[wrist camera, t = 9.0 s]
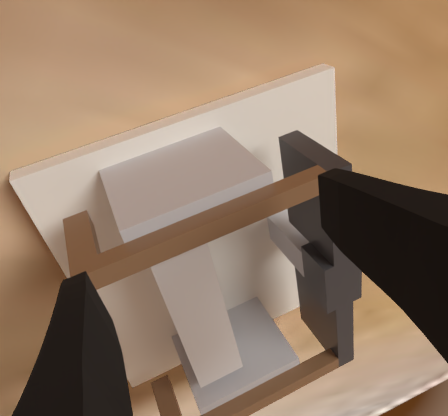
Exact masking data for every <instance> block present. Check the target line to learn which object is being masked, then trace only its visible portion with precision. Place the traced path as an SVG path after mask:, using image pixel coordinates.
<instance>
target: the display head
mask: <svg viewBox="0 0 448 416" xmlns="http://www.w3.org/2000/svg"><path fill="white" fill-rule="evenodd" d="M296 130H298V131H300V132H301V133H303V134H305V135H306V136H308V137H309V138H311V139H313V140H314V141H316V142H317V143H319V144H321V145H322V146H324V147H325V148H327V149H329V150H330V151H332V152H333V153H335V154H336V155H337V127H336V97H335V67H332V66H329V65H326V64H324V63H322V64H320V65H317V66H314V67H311V68H308V69H305V70H302V71H299V72H296V73H294V74H291V75H288V76H285V77H282V78H279V79H276V80H273V81H270V82H268V83H265V84H262V85H259V86H256V87H253V88H250V89H247V90H244V91H242V92H239V93H236V94H233V95H230V96H227V97H224V98H221V99H218V100H215V101H213V102H210V103H207V104H204V105H201V106H198V107H195V108H192V109H189V110H187V111H184V112H181V113H178V114H175V115H172V116H169V117H166V118H163V119H161V120H158V121H155V122H152V123H149V124H146V125H143V126H140V127H137V128H135V129H132V130H129V131H126V132H123V133H120V134H117V135H114V136H111V137H109V138H106V139H103V140H100V141H97V142H94V143H91V144H88V145H85V146H83V147H80V148H77V149H74V150H71V151H68V152H65V153H62V154H59V155H57V156H54V157H51V158H48V159H45V160H42V161H39V162H36V163H33V164H31V165H28V166H25V167H22V168H19V169H16V170H13V171H10V178H9V182H10V184H11V185H12V187H13V189H14V190H15V192H16V194H17V195H18V197H19V199H20V200H21V202H22V204H23V205H24V207H25V209H26V210H27V212H28V214H29V215H30V217H31V219H32V220H33V222H34V224H35V225H36V227H37V229H38V230H39V232H40V234H41V235H42V237H43V239H44V241H45V242H46V244H47V246H48V247H49V249H50V251H51V252H52V254H53V256H54V257H55V259H56V261H57V262H58V264H59V266H60V267H61V269H62V271H63V272H64V274H65V276H66V277H67V278H70V272H69V264H68V257H67V249H66V242H65V234H64V226H63V219H64V218H67V217H70V216H72V215H75V214H77V213H80V212H83V211H85V210H87V212H88V214H89V216H90V218H91V220H92V222H93V224H94V227H95V231H96V235H97V239H98V243H99V248H100V252H101V253H102V252H104V251H107V250H109V249H112V248H114V247H117V246H119V245H122V244H124V243H127V242H129V241H132V240H134V239H136V238H139V237H141V236H144V235H146V234H149V233H151V232H154V231H156V230H159V229H161V228H164V227H166V226H168V225H171V224H173V223H176V222H178V221H181V220H183V219H186V218H188V217H191V216H193V215H196V214H198V213H200V212H203V211H205V210H208V209H210V208H213V207H215V206H218V205H220V204H223V203H225V202H228V201H230V200H232V199H235V198H237V197H240V196H242V195H245V194H247V193H250V192H252V191H255V190H257V189H260V188H262V187H264V186H267V185H269V184H272V183H274V182H277V181H279V180H282V179H284V178H283V170H282V162H281V154H280V146H279V138H278V137H280V136H283V135H285V134H288V133H290V132H293V131H296ZM307 243H309V241H308V240H307V239H306V238H305V237H304V236H303V235H302V234H301V233H300V232H299V231H298V230H297V229H296V228H295V227H294V226H293V225H292V224H291V223H290V222H289V217H288V209H286V210H283V211H281V212H279V213H276V214H274V215H272V216H269V217H267V218H264V219H262V220H260V221H257V222H255V223H253V224H250V225H248V226H246V227H243V228H241V229H239V230H236V231H234V232H232V233H229V234H227V235H224V236H222V237H220V238H217V239H215V240H213V241H210V242H208V243H206V244H203V245H201V246H199V247H196V248H194V249H192V250H189V251H187V252H185V253H182V254H180V255H177V256H175V257H173V258H170V259H168V260H166V261H163V262H161V263H159V264H156V265H154V266H152V267H149V268H147V269H145V270H142V271H140V272H137V273H135V274H133V275H130V276H128V277H126V278H123V279H121V280H119V281H116V282H114V283H112V284H109V285H107V286H105V287H102V288H100V289H98V290H96V291H97V292H98V294H99V296H100V298H101V300H102V301H103V303H104V305H105V307H106V309H107V311H108V312H109V314H110V316H111V318H112V320H113V323H114V326H115V329H116V332H117V336H118V339H119V343H120V346H121V349H122V353H123V359H124V365H125V371H126V377H127V379H128V381H129V383H130V384H131V386H132V388H134V387H136V386H138V385H140V384H142V383H144V382H146V381H148V380H150V379H152V378H154V377H156V376H158V375H160V374H162V373H164V372H166V371H168V370H170V369H172V368H175V367H177V366H179V365H181V364H182V366H183V369H184V372H185V374H186V377H187V380H188V382H189V385H190V387H191V390H192V393H193V395H194V398H195V401H196V403H197V406H198V408H199V411H200V413H201V415H203V414H205V413H207V412H209V411H210V410H212V409H214V408H216V407H218V406H220V405H222V404H224V403H226V402H228V401H230V400H232V399H233V398H235V397H237V396H239V395H241V394H243V393H245V392H247V391H249V390H251V389H253V388H255V387H256V386H258V385H260V384H262V383H264V382H266V381H268V380H270V379H272V378H274V377H276V376H278V375H279V374H281V373H283V372H285V371H287V370H289V369H291V368H293V367H295V366H297V365H299V364H300V362H299V358H298V356H297V355H296V353H295V352H294V350H293V349H292V347H291V346H290V344H289V343H288V341H287V340H286V339H285V337H284V336H283V334H282V333H281V331H280V330H279V328H278V327H277V325H276V324H275V322H274V321H273V319H275V318H277V317H279V316H281V315H283V314H285V313H287V312H289V311H291V310H293V309H295V308H298V307H300V305H299V297H298V289H297V281H296V273H295V268H296V269H297V270H298V271H299V272H300V273H301V274H302V276H303V277H304V270H303V261H302V251H301V246H303V245H305V244H307Z"/></svg>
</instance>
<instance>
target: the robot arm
mask: <svg viewBox="0 0 448 416" xmlns="http://www.w3.org/2000/svg"><path fill="white" fill-rule="evenodd" d="M318 187H319V202H320V216H321V227H322V229H323V230H324V231H325V233H326V234H327V235H328V236H329V238H330V239H331V240H332V242H333V243H334V244H335V245H336V246H337V247H338V249H339V250H340V251H341V252H342V253H343V254H344V255H345V256H346V257H347V258H348V259H349V260H350V261H351V262H353V263H354V264H355V265H356V266H357V267H358V268H359V269H360V270H361V271H362V272H363V273H364V274H365V275H366V276H368V277H369V278H370V279H371V280H372V281H373V282H374V283H375V284H376V285H377V286H378V287H379V288H381V289H382V290H383V291H384V292H385V293H386V294H387V295H388V296H389V297H390V298H391V299H392V300H393V301H394V302H395V303H396V304H397V305H398V306H399V307H400V308H401V309H402V310H403V311H404V312H405V313H406V314H407V315H408V317H409V318H410V319H411V320H412V321H413V322H414V323H415V325H416V326H417V327H418V328H419V329H420V330H421V331H422V333H423V334H424V335H425V336H426V337H427V339H428V340H429V341H430V342H431V343H432V345H433V346H434V347H435V348H436V349H437V351H438V352H439V353H440V354H441V355H442V357H443V358H444V359H445V360H446V362H447V363H448V195H447V194H442V193H437V192H432V191H427V190H422V189H418V188H414V187H409V186H405V185H401V184H397V183H393V182H389V181H386V180H382V179H378V178H374V177H370V176H367V175H363V174H359V173H355V172H351V171H347V170H343V169H338V168H334V169H331V170H329V171H326V172H324V173H321V174H319V175H318ZM12 416H133V413H132V407H131V401H130V395H129V389H128V383H127V377H126V371H125V365H124V359H123V353H122V349H121V346H120V343H119V339H118V336H117V332H116V329H115V326H114V323H113V320H112V318H111V316H110V314H109V312H108V311H107V309H106V307H105V305H104V303H103V301H102V300H101V298H100V296H99V294H98V292H97V291H96V289H95V287H94V285H93V283H92V281H91V280H90V278H89V276H88V274H87V272H86V271H84V272H82V273H79V274H77V275H75V276H72V277H70V278H67V279H65V280H63V281H62V283H61V286H60V290H59V293H58V297H57V301H56V304H55V308H54V311H53V314H52V317H51V321H50V324H49V327H48V330H47V333H46V336H45V339H44V341H43V344H42V347H41V350H40V353H39V355H38V358H37V360H36V363H35V365H34V368H33V370H32V373H31V375H30V377H29V380H28V382H27V385H26V387H25V389H24V391H23V394H22V396H21V398H20V400H19V402H18V404H17V406H16V408H15V410H14V412H13V414H12Z"/></svg>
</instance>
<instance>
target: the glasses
mask: <svg viewBox="0 0 448 416" xmlns="http://www.w3.org/2000/svg"><path fill="white" fill-rule="evenodd" d="M278 138H279V146H280V154H281V162H282V170H283V178H284V179H282V180H279V181H277V182H274V183H272V184H269V185H267V186H264V187H262V188H260V189H257V190H255V191H252V192H250V193H247V194H245V195H242V196H240V197H237V198H235V199H232V200H230V201H228V202H225V203H223V204H220V205H218V206H215V207H213V208H210V209H208V210H205V211H203V212H200V213H198V214H196V215H193V216H191V217H188V218H186V219H183V220H181V221H178V222H176V223H173V224H171V225H168V226H166V227H164V228H161V229H159V230H156V231H154V232H151V233H149V234H146V235H144V236H141V237H139V238H136V239H134V240H132V241H129V242H127V243H124V244H122V245H119V246H117V247H114V248H112V249H109V250H107V251H104V252H102V253H101V252H100V248H99V243H98V239H97V235H96V231H95V227H94V224H93V222H92V220H91V218H90V216H89V214H88V212H87V210H85V211H83V212H80V213H77V214H75V215H72V216H70V217H67V218H64V219H63V226H64V234H65V242H66V249H67V257H68V264H69V272H70V277H72V276H75V275H77V274H79V273H82V272H84V271H86V272H87V274H88V276H89V278H90V280H91V281H92V283H93V285H94V287H95V289H96V290H98V289H100V288H102V287H105V286H107V285H109V284H112V283H114V282H116V281H119V280H121V279H123V278H126V277H128V276H130V275H133V274H135V273H137V272H140V271H142V270H145V269H147V268H149V267H152V266H154V265H156V264H159V263H161V262H163V261H166V260H168V259H170V258H173V257H175V256H177V255H180V254H182V253H185V252H187V251H189V250H192V249H194V248H196V247H199V246H201V245H203V244H206V243H208V242H210V241H213V240H215V239H217V238H220V237H222V236H224V235H227V234H229V233H232V232H234V231H236V230H239V229H241V228H243V227H246V226H248V225H250V224H253V223H255V222H257V221H260V220H262V219H264V218H267V217H269V216H272V215H274V214H276V213H279V212H281V211H283V210H286V209H288V217H289V222H290V223H291V224H292V225H293V226H294V227H295V228H296V229H297V230H298V231H299V232H300V233H301V234H302V235H303V236H304V237H305V238H306V239H307V240H308V241H309V243H307V244H305V245H303V246H301V251H302V261H303V270H304V277H303V276H302V274H301V273H300V272H299V271H298V270H297V269H296V268H295V273H296V281H297V289H298V297H299V305H300V313H301V318H302V320H303V321H304V322H305V324H306V325H307V326H308V328H309V329H310V330H311V331H312V333H313V334H314V335H315V337H316V338H317V339H318V341H319V342H320V343H321V345H322V346H323V347H324V348H325V351H323V352H322V353H320V354H318V355H316V356H314V357H312V358H310V359H308V360H306V361H304V362H302V363H301V364H299V365H297V366H295V367H293V368H291V369H289V370H287V371H285V372H283V373H281V374H279V375H278V376H276V377H274V378H272V379H270V380H268V381H266V382H264V383H262V384H260V385H258V386H256V387H255V388H253V389H251V390H249V391H247V392H245V393H243V394H241V395H239V396H237V397H235V398H233V399H232V400H230V401H228V402H226V403H224V404H222V405H220V406H218V407H216V408H214V409H212V410H210V411H209V412H207V413H205V414H203V415H201V416H249V415H251V414H253V413H254V412H256V411H258V410H260V409H262V408H264V407H266V406H268V405H269V404H271V403H273V402H275V401H277V400H279V399H281V398H282V397H284V396H286V395H288V394H290V393H292V392H294V391H295V390H297V389H299V388H301V387H303V386H305V385H307V384H308V383H310V382H312V381H314V380H316V379H318V378H320V377H322V376H323V375H325V374H327V373H329V372H331V371H333V370H335V369H336V368H338V367H340V366H342V365H344V364H346V363H348V362H349V361H351V360H353V359H354V348H353V301H355V300H357V299H359V298H361V282H362V271H361V270H360V269H359V268H358V267H357V266H356V265H355V264H354V263H353V262H351V261H350V260H349V259H348V258H347V257H346V256H345V255H344V254H343V253H342V252H341V251H340V250H339V249H338V247H337V246H336V245H335V244H334V243H333V242H332V240H331V239H330V238H329V236H328V235H327V234H326V233H325V231H324V230H323V229H322V227H321V216H320V202H319V187H318V175H319V174H321V173H324V172H326V171H329V170H331V169H334V168H338V169H343V170H347V171H351V172H352V164H351V163H349V162H348V161H346V160H344V159H343V158H341V157H340V156H338V155H336V154H335V153H333V152H332V151H330V150H329V149H327V148H325V147H324V146H322V145H321V144H319V143H317V142H316V141H314V140H313V139H311V138H309V137H308V136H306V135H305V134H303V133H301V132H300V131H298V130H296V131H293V132H290V133H288V134H285V135H283V136H280V137H278ZM151 384H152V388H153V391H154V395H155V398H156V402H157V405H158V409H159V412H160V415H161V416H182V414H181V411H180V408H179V405H178V402H177V399H176V396H175V393H174V391H173V388H172V385H171V382H170V380H169V378H168V376H167V375H166V376H164V377H162V378H160V379H158V380H156V381H154V382H152V383H151Z"/></svg>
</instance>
